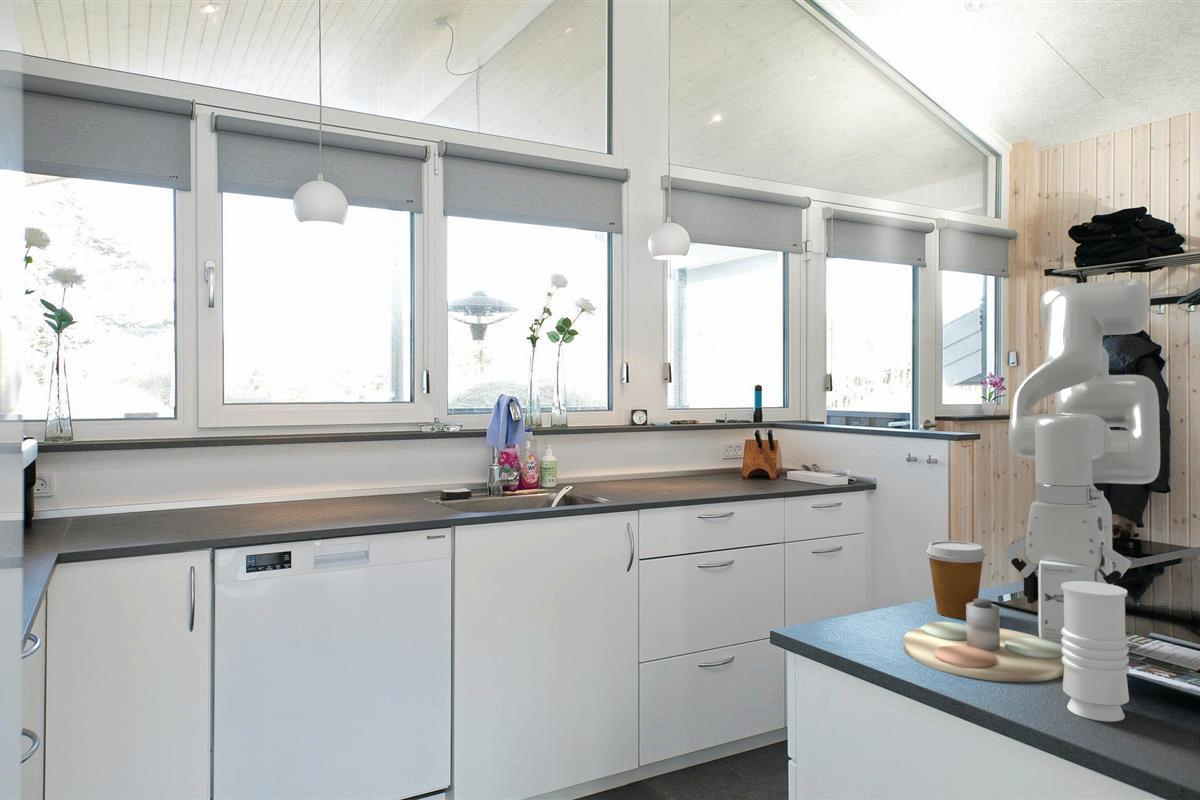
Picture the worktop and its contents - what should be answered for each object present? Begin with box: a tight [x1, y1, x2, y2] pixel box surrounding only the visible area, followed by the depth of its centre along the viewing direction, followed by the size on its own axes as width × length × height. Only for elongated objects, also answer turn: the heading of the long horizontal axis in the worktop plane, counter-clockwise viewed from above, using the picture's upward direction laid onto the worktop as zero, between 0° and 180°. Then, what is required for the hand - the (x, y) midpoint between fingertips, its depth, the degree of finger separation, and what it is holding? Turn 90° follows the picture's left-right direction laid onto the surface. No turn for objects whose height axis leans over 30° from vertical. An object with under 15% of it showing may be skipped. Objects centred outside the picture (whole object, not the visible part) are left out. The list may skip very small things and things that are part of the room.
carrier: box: [903, 597, 1064, 683], centre depth 113 cm, size 22×22×8 cm
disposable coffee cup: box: [925, 540, 987, 619], centre depth 134 cm, size 10×10×12 cm
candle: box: [1061, 581, 1130, 722], centre depth 93 cm, size 7×7×15 cm
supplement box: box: [1037, 560, 1095, 646], centre depth 119 cm, size 7×7×13 cm
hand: (1065, 606), depth 119 cm, fingers closed on supplement box, 8 cm apart
